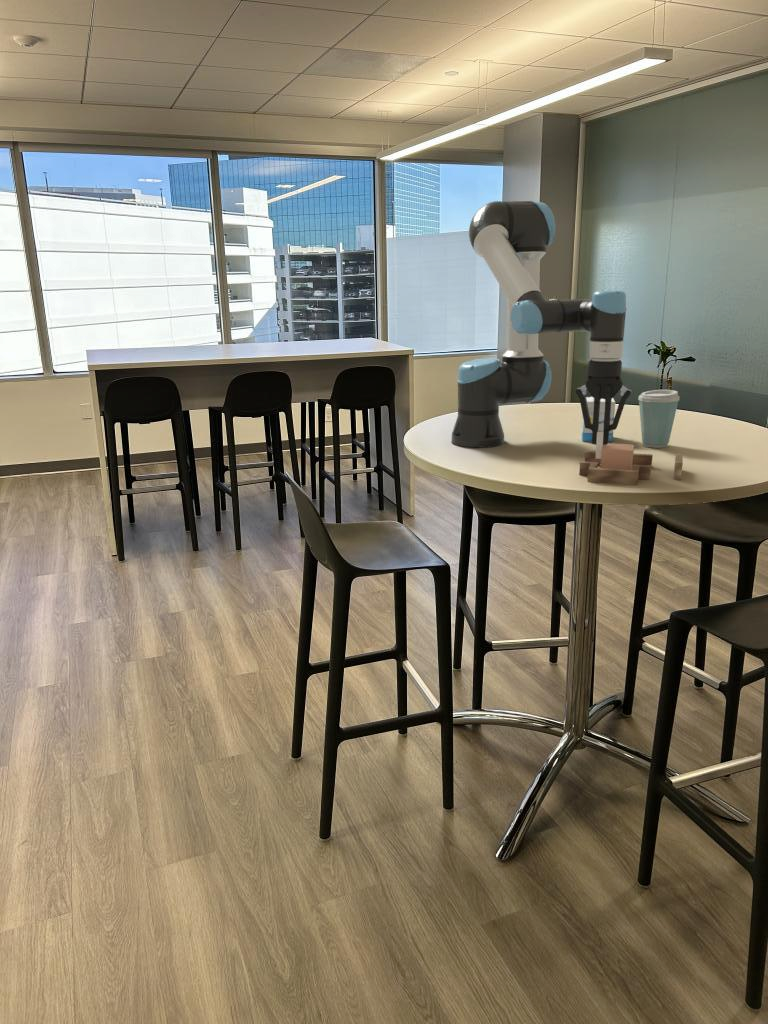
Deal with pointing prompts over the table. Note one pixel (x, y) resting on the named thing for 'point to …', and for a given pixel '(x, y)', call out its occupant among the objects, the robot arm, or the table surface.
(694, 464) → the table surface
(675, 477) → the open wooden frame
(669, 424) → the disposable coffee cup
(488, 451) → the table surface
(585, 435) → the ink box
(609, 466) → the block
